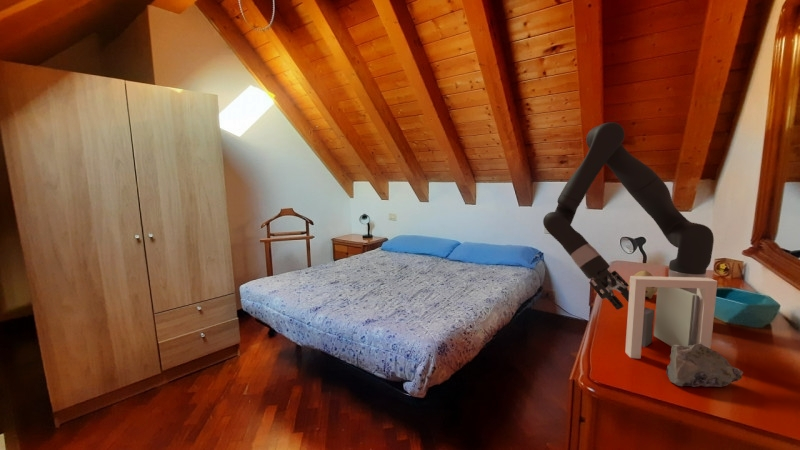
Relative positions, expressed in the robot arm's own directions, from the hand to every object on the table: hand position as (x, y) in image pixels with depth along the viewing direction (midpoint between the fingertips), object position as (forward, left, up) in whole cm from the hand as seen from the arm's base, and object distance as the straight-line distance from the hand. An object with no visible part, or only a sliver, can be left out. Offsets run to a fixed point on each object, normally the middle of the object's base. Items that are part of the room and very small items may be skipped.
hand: (627, 304), depth 99 cm
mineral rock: (-6, +23, -10) cm, 26 cm away
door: (-10, +5, -10) cm, 15 cm away
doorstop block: (-3, +3, -10) cm, 11 cm away
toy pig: (-23, -38, -10) cm, 45 cm away
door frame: (-5, +11, -10) cm, 16 cm away
